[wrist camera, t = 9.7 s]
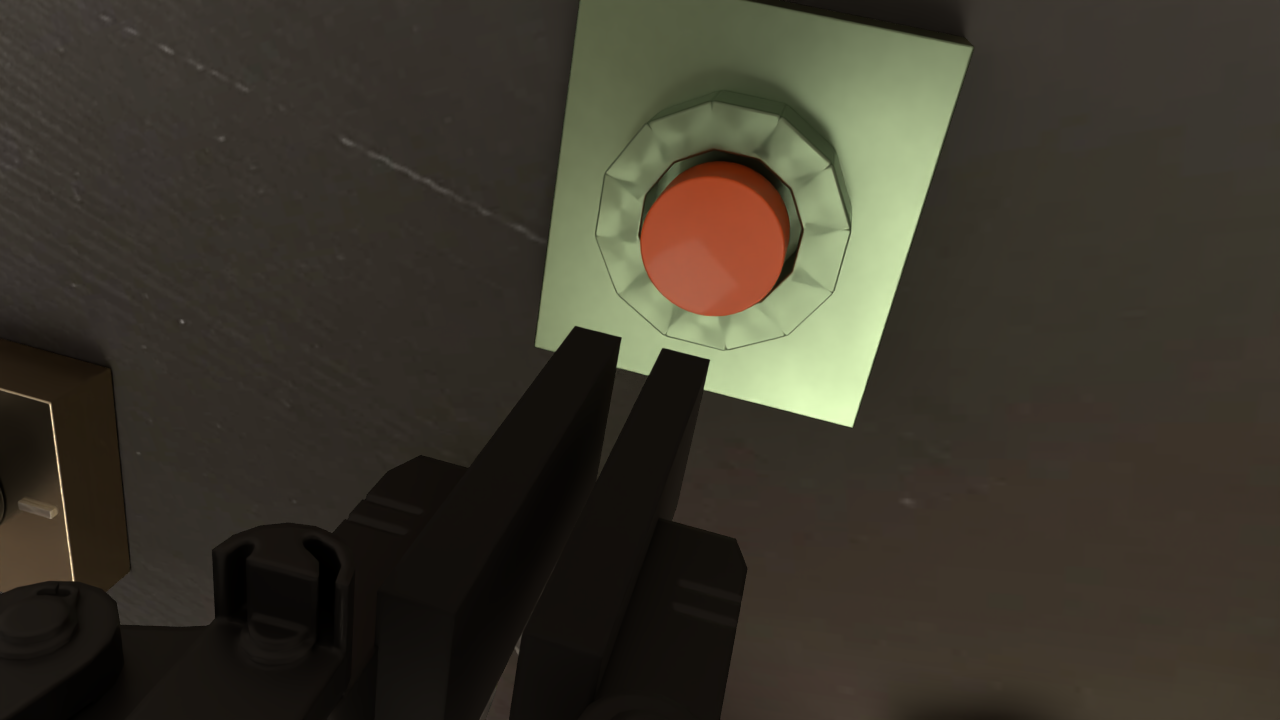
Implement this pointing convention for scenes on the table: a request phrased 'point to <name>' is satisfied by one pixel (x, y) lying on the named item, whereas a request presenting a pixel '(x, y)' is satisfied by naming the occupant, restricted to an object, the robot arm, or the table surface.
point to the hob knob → (1, 505)
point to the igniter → (769, 144)
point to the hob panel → (59, 472)
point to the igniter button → (716, 239)
